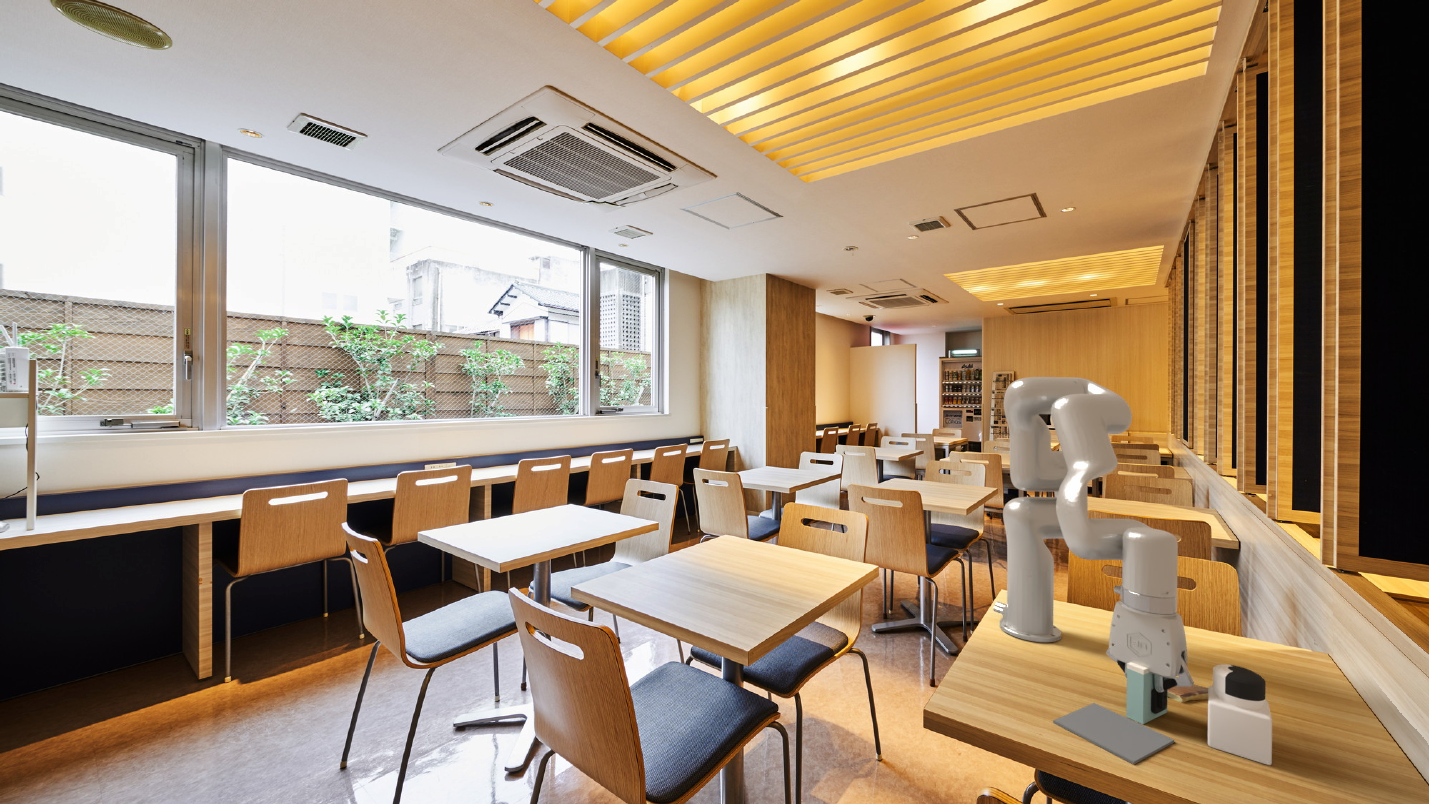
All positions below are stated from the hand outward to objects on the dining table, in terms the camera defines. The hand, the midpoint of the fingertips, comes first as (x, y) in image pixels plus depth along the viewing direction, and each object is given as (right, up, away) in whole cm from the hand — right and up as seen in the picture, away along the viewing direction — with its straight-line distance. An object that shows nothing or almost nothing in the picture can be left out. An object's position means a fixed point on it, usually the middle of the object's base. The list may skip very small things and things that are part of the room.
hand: (1147, 705), depth 96 cm
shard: (+12, -2, +9) cm, 15 cm away
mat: (-10, -1, -5) cm, 11 cm away
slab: (0, -1, 0) cm, 1 cm away
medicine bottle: (+8, -2, -9) cm, 12 cm away
